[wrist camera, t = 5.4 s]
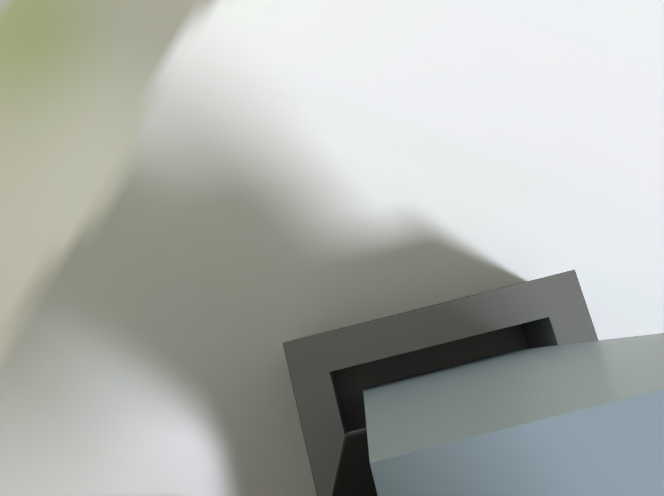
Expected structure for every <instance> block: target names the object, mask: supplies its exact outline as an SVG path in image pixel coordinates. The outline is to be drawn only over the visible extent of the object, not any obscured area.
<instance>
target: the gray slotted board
mask: <svg viewBox="0 0 664 496" xmlns="http://www.w3.org/2000/svg"><path fill="white" fill-rule="evenodd" d="M591 341H598V338H597V335H596V332H595V329H594V326H593V323H592V320H591V317H590V314H589V311H588V308H587V305H586V302H585V299H584V296H583V293H582V290H581V287H580V284H579V281H578V278H577V275H576V272H575V270H572V271H568V272H564V273H560V274H556V275H552V276H548V277H544V278H540V279H536V280H532V281H528V282H524V283H520V284H516V285H512V286H508V287H504V288H500V289H496V290H492V291H488V292H484V293H480V294H476V295H472V296H468V297H464V298H460V299H456V300H452V301H448V302H444V303H440V304H436V305H432V306H428V307H424V308H420V309H416V310H412V311H408V312H404V313H400V314H396V315H392V316H388V317H384V318H380V319H376V320H372V321H368V322H364V323H361V324H357V325H353V326H349V327H345V328H341V329H337V330H333V331H329V332H325V333H321V334H317V335H313V336H309V337H305V338H301V339H297V340H293V341H289V342H285V343H283V346H284V351H285V355H286V359H287V364H288V368H289V373H290V377H291V381H292V386H293V390H294V395H295V399H296V403H297V408H298V412H299V417H300V421H301V426H302V430H303V434H304V439H305V443H306V448H307V452H308V456H309V461H310V465H311V470H312V474H313V479H314V483H315V487H316V492H317V496H331V492H332V487H333V483H334V478H335V474H336V470H337V465H338V461H339V456H340V452H341V448H342V443H343V439H344V436H345V434H346V433H347V432H350V431H353V430H357V429H361V428H365V427H366V416H365V405H364V394H363V389H364V388H368V387H372V386H376V385H380V384H384V383H388V382H392V381H396V380H400V379H404V378H408V377H412V376H416V375H420V374H424V373H428V372H432V371H436V370H440V369H444V368H448V367H452V366H456V365H460V364H464V363H467V362H471V361H475V360H479V359H483V358H487V357H491V356H495V355H499V354H503V353H507V352H511V351H515V350H521V349H530V348H539V347H548V346H556V345H565V344H574V343H583V342H591Z"/></svg>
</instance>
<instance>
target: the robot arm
mask: <svg viewBox="0 0 664 496" xmlns="http://www.w3.org/2000/svg"><path fill="white" fill-rule="evenodd" d="M331 496H378V495H377V491H376V486H375V482H374V478H373V474H372V470H371V466H370V461H369V449H368V438H367V427H365V428H361V429H357V430H353V431H350V432H347V433H346V434H345V436H344V439H343V443H342V448H341V452H340V456H339V461H338V465H337V470H336V474H335V478H334V483H333V487H332V492H331Z"/></svg>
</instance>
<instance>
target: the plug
mask: <svg viewBox="0 0 664 496" xmlns="http://www.w3.org/2000/svg"><path fill="white" fill-rule="evenodd" d="M363 394H364V405H365V416H366V427H367V438H368V449H369V461H370V466H371V470H372V474H373V478H374V482H375V486H376V491H377V495H378V496H664V333H662V334H653V335H644V336H635V337H627V338H618V339H609V340H600V341H591V342H583V343H574V344H565V345H556V346H548V347H539V348H530V349H521V350H515V351H511V352H507V353H503V354H499V355H495V356H491V357H487V358H483V359H479V360H475V361H471V362H467V363H464V364H460V365H456V366H452V367H448V368H444V369H440V370H436V371H432V372H428V373H424V374H420V375H416V376H412V377H408V378H404V379H400V380H396V381H392V382H388V383H384V384H380V385H376V386H372V387H368V388H364V389H363Z"/></svg>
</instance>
